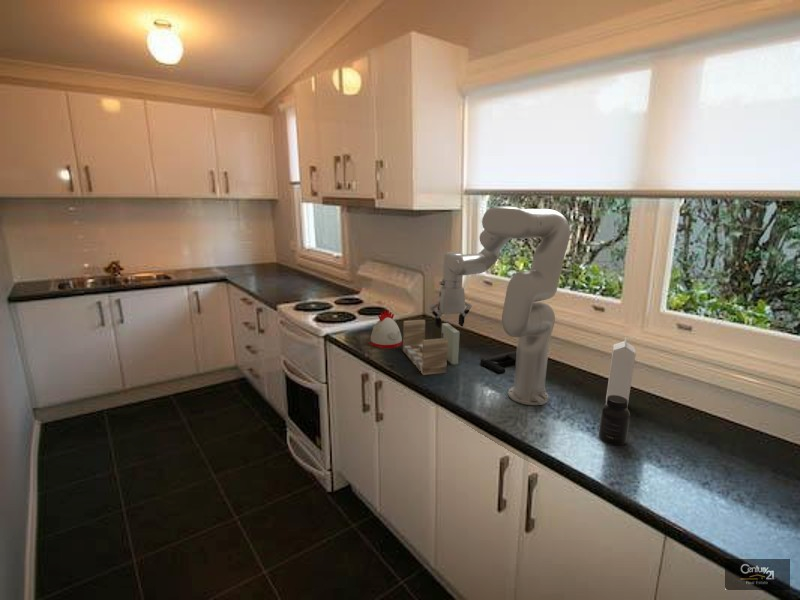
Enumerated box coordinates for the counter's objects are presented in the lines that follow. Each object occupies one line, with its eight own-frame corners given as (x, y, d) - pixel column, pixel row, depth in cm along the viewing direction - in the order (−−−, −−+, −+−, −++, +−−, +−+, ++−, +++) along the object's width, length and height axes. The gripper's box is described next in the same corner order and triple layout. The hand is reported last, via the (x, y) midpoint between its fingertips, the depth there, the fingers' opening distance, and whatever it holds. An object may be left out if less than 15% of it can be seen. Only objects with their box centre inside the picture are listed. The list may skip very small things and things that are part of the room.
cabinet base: (446, 372, 157) (447, 339, 154) (423, 374, 154) (424, 341, 151) (423, 348, 181) (424, 319, 178) (403, 350, 179) (403, 320, 176)
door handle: (545, 363, 162) (515, 348, 175) (506, 373, 152) (477, 356, 165) (544, 371, 163) (514, 355, 176) (505, 381, 153) (476, 364, 166)
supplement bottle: (601, 430, 119) (607, 390, 116) (628, 438, 115) (635, 398, 112) (594, 440, 114) (600, 399, 111) (622, 449, 110) (629, 407, 107)
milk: (605, 407, 132) (614, 340, 127) (605, 399, 138) (614, 334, 133) (627, 411, 130) (637, 343, 125) (626, 403, 135) (636, 337, 130)
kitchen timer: (364, 342, 188) (364, 309, 185) (388, 336, 197) (389, 305, 194) (383, 350, 178) (383, 316, 175) (408, 344, 187) (408, 311, 183)
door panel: (457, 363, 165) (459, 332, 162) (450, 364, 165) (452, 332, 162) (446, 353, 177) (447, 323, 174) (439, 353, 176) (440, 323, 173)
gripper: (434, 287, 158) (432, 330, 162) (476, 285, 163) (473, 327, 167) (427, 282, 165) (425, 324, 169) (468, 281, 169) (465, 322, 174)
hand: (449, 326), depth 168 cm, fingers open, 9 cm apart
